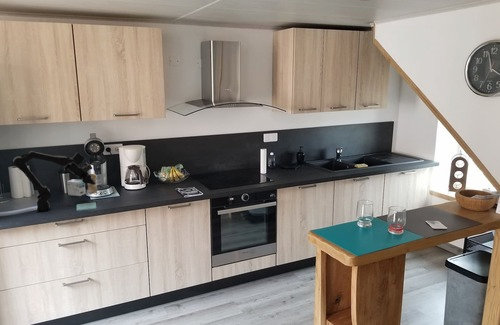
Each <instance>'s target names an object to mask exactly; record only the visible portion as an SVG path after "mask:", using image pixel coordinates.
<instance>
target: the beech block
mask: <svg viewBox="0 0 500 325" xmlns="http://www.w3.org/2000/svg"><path fill="white" fill-rule="evenodd" d="M88 174H89V175H91V179H92V180H93V181H94V182H95V185H93V184H89V183H87V193H88V195H92V194H94V195H95V194H98V184H97V174H96V173H88Z"/></svg>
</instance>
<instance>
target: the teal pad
mask: <svg viewBox="0 0 500 325" xmlns="http://www.w3.org/2000/svg"><path fill="white" fill-rule="evenodd" d="M96 209H97V203H96V201H95V202H87V203H86V202H85V203H77V204H76V212H80V211H87V210H88V211H89V210H96Z"/></svg>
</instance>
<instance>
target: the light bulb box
mask: <svg viewBox="0 0 500 325" xmlns="http://www.w3.org/2000/svg"><path fill="white" fill-rule="evenodd" d="M66 186H67V194H68V196H75V197H76V196H77V197H81V196H83V195H86V194H87V193H86V192H87V191H86V183H84V182H83V181H82V179H73V178H72V179H70V180H67V181H66Z"/></svg>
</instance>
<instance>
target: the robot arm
mask: <svg viewBox="0 0 500 325" xmlns="http://www.w3.org/2000/svg"><path fill="white" fill-rule="evenodd" d="M32 159H37V160H42V161H45V162H46V161H48V162H51V163H54V164H57V165H60V166H62V167H63V170H64V172H66V171H67V170H68V171H69V172H70V173H72V174H73V175H74V176H76V177H77V178H78V179H79V180H82V181H83V182H84V183H85V184H88V183H89V184H93V185H95V182H94V181H93V180H92V179H91V175H89V174H90V173H89V172H88V171H90V170H92V169H93V167H92V165H91V164H90V163H86V162H84V161H85V160H86V159H87V158H86V157H85V155H83V154H81V153H79V152H78V151H77V152H76V153H75V154H74V156H72V157H67V156H66V155H51V154H47V153H43V152H42V153H41V152H37V151H34V150H31V151H29V152H27V153H24V154H22V155H20V156H18V155H17V156H15V157H14V158H13V160H12V162H13V164H14V166H15V167H16V168H18V170H20V171H21V172H22V173H23V174H24V175H25V176H26V177H27V179H28V180H29V182H30V183H31V184H32V185H33V186H34V188H35V190H37V192H38V195H37V196H36V197H35V198H36V207H37V211H36V213H42V212H49V211H50V209H51V208H50V207H51V206H50V202H49V199H50V198H51V190H50V189H49V188H48V187H47V186H46V185H43V184H41V182H40V181H39V180H38V178H37V177H36V175H35V174H34V173H33V172H32V170H30V169H29V167H28V165H27V163H28V162H29V161H32ZM83 162H84V163H83ZM82 163H83V166H82V167H81V166H78V165H81V164H82Z"/></svg>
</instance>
